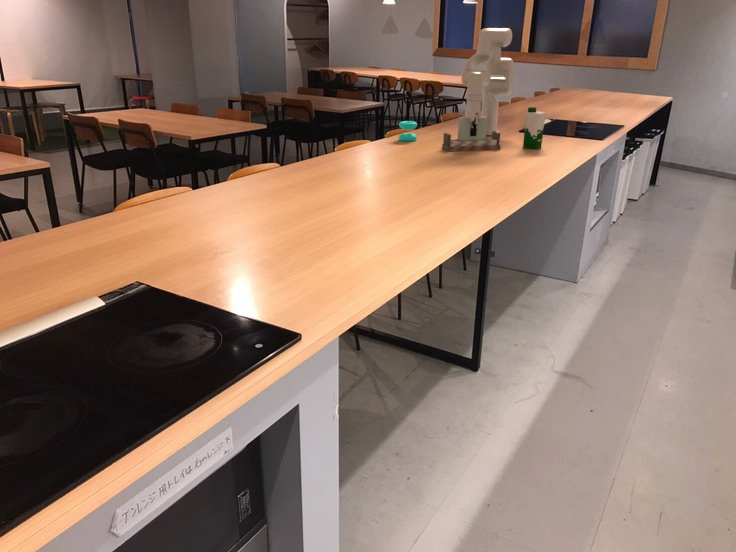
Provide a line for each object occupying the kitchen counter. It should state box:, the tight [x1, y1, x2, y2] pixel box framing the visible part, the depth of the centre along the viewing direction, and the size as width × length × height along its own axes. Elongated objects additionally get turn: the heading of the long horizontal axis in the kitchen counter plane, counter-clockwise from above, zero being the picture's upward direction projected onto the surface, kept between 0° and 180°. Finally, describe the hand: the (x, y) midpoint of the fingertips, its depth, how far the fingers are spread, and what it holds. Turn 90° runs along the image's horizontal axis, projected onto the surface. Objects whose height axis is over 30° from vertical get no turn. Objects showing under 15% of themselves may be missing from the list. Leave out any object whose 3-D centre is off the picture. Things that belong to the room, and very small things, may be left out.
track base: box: [441, 130, 501, 152], centre depth 298 cm, size 28×10×8 cm, turn 101°
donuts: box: [398, 120, 418, 142], centre depth 321 cm, size 10×10×10 cm
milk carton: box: [522, 106, 547, 150], centre depth 298 cm, size 9×9×20 cm
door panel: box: [457, 116, 487, 140], centre depth 296 cm, size 14×3×11 cm, turn 101°
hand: (471, 135), depth 297 cm, fingers closed on door panel, 3 cm apart
